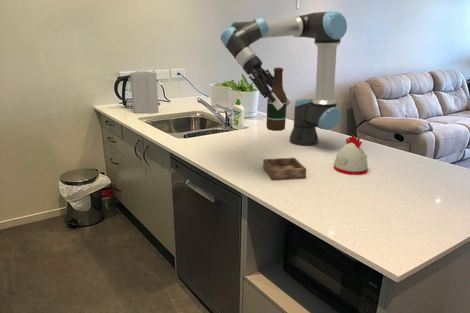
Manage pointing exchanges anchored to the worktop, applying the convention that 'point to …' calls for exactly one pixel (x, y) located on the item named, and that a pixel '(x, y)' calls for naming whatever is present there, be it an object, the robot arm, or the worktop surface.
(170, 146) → the worktop surface
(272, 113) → the beer bottle
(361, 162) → the kitchen timer
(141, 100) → the paper bag
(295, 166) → the square wooden tray
